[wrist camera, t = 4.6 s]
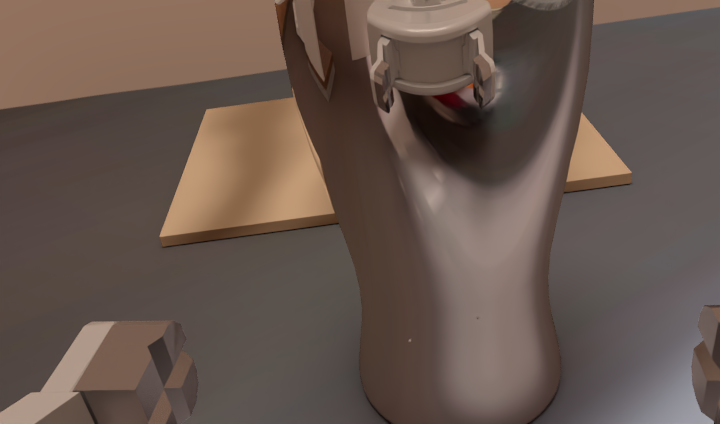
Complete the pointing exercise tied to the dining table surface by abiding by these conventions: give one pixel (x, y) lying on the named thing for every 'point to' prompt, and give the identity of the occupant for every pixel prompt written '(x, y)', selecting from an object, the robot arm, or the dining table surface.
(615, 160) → the placemat
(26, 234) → the dining table surface
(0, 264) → the dining table surface
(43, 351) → the dining table surface
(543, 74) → the beer glass
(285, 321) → the dining table surface
